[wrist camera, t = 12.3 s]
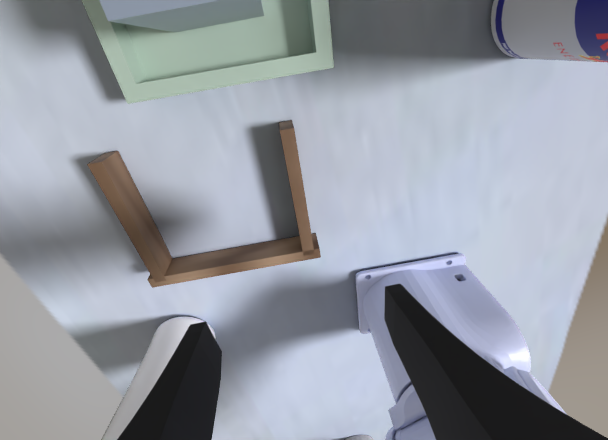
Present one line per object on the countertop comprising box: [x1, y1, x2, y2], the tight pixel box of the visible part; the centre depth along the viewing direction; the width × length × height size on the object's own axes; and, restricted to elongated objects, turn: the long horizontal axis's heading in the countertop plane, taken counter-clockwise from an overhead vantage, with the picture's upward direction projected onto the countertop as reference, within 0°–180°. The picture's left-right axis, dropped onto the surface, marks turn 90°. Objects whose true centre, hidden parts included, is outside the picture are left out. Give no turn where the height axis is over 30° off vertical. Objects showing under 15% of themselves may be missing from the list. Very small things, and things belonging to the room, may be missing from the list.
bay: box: [87, 120, 321, 287], centre depth 19 cm, size 12×9×2 cm
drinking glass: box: [101, 317, 216, 440], centre depth 20 cm, size 7×7×15 cm
